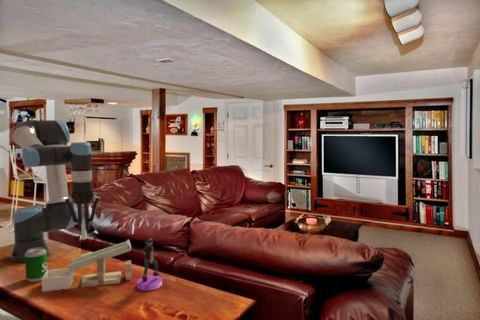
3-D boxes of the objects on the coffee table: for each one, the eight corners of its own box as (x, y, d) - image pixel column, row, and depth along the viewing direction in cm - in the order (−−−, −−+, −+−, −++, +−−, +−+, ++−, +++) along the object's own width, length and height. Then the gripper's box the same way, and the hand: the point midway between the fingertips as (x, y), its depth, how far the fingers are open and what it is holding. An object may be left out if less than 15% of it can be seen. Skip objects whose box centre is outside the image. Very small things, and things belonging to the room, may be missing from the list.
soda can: (38, 284, 137) (36, 253, 136) (21, 282, 138) (19, 252, 137) (52, 276, 144) (50, 247, 143) (36, 274, 146) (34, 246, 145)
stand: (84, 278, 141) (83, 251, 140) (131, 273, 146) (130, 247, 145) (80, 287, 133) (79, 259, 132) (131, 281, 138) (130, 254, 137)
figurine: (167, 282, 138) (166, 236, 136) (151, 292, 129) (150, 243, 128) (148, 278, 142) (146, 233, 140) (131, 287, 133) (130, 240, 132)
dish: (47, 282, 138) (47, 270, 137) (73, 279, 140) (73, 267, 140) (42, 291, 130) (41, 278, 130) (69, 288, 132) (69, 275, 132)
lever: (75, 258, 147) (73, 252, 146) (131, 239, 152) (129, 233, 152) (69, 271, 133) (66, 264, 132) (130, 250, 138) (128, 243, 138)
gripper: (62, 183, 136) (64, 242, 139) (98, 181, 140) (100, 240, 142) (66, 180, 144) (68, 236, 146) (100, 178, 147) (102, 234, 149)
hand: (84, 238), depth 144 cm, fingers closed
